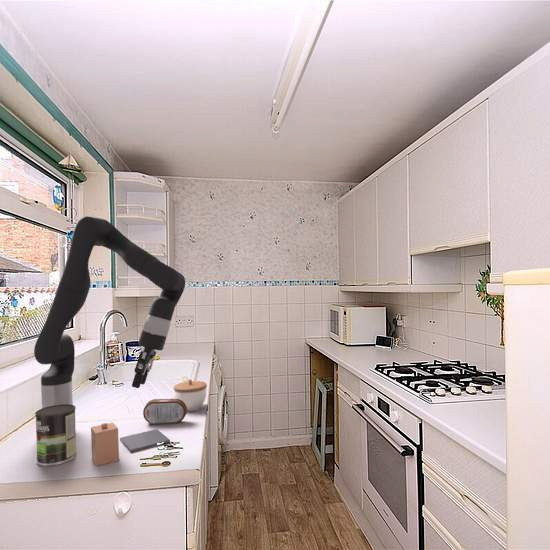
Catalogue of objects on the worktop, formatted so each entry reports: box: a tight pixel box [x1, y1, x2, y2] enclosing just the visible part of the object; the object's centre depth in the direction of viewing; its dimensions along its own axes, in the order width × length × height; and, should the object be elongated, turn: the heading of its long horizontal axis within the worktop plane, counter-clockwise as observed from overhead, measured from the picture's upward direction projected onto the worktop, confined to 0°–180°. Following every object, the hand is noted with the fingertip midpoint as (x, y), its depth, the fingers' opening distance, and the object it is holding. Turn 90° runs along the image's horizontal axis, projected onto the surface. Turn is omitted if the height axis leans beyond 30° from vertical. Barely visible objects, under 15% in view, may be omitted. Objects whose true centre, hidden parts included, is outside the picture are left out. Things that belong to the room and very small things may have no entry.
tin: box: [142, 398, 188, 425], centre depth 146 cm, size 15×3×8 cm, turn 92°
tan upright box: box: [90, 422, 120, 467], centre depth 118 cm, size 6×6×10 cm
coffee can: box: [34, 404, 77, 467], centre depth 120 cm, size 10×10×14 cm
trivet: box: [119, 428, 171, 454], centre depth 130 cm, size 12×12×1 cm
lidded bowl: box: [173, 379, 208, 412], centre depth 162 cm, size 13×13×11 cm
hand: (138, 385), depth 123 cm, fingers open, 8 cm apart
